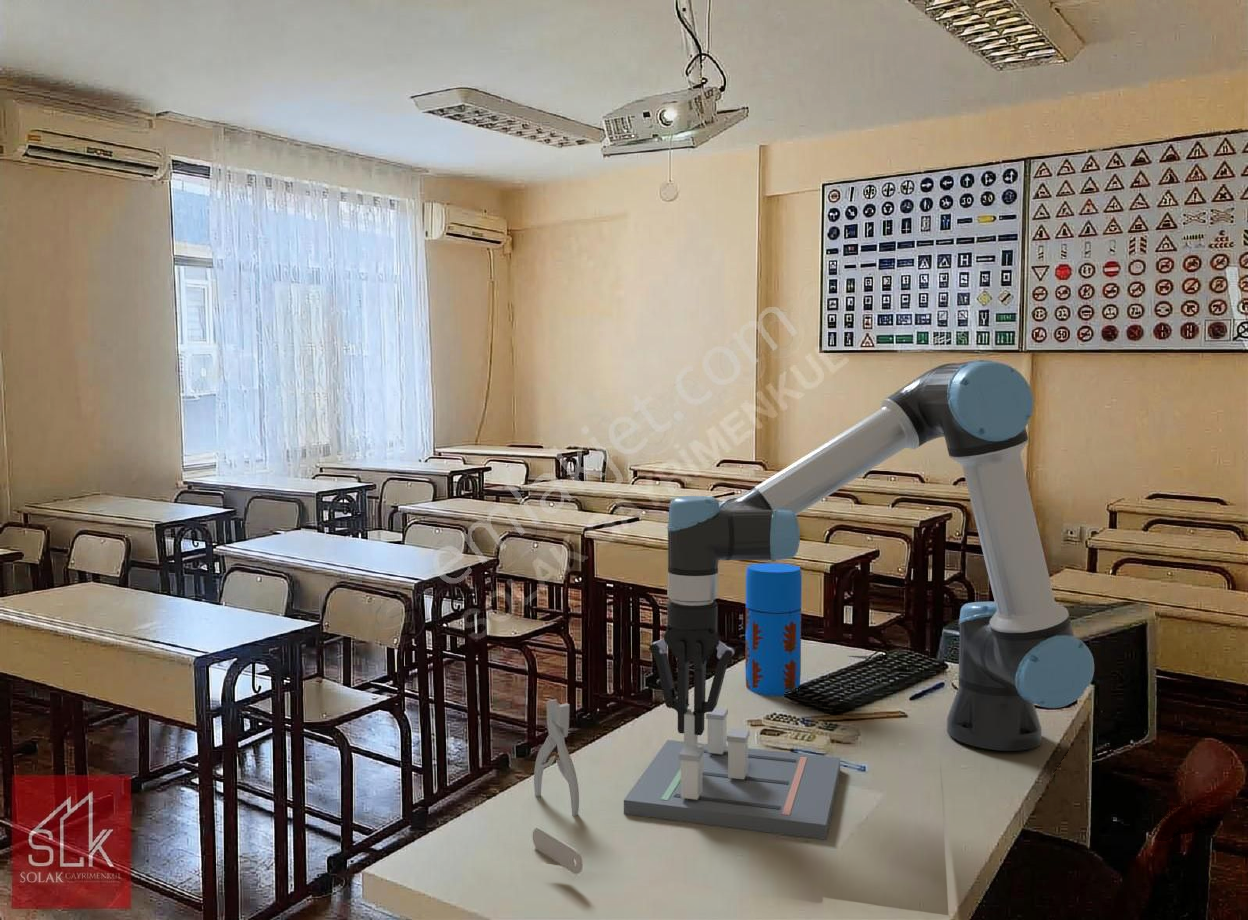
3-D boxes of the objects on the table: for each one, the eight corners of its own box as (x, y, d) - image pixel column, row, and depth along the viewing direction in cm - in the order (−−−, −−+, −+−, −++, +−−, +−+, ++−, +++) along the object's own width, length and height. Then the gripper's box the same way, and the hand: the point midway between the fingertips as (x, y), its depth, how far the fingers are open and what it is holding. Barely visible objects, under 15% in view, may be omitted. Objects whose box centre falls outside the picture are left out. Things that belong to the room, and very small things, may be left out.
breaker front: (704, 790, 138) (704, 747, 138) (698, 800, 135) (698, 756, 135) (684, 787, 139) (685, 745, 139) (679, 797, 136) (679, 753, 135)
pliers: (584, 813, 137) (583, 709, 136) (575, 816, 136) (574, 711, 135) (542, 791, 144) (542, 693, 143) (534, 794, 143) (533, 695, 142)
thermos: (798, 684, 198) (799, 563, 196) (802, 701, 187) (803, 572, 185) (744, 683, 199) (745, 562, 197) (745, 699, 188) (746, 572, 186)
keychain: (584, 876, 119) (584, 852, 119) (580, 877, 119) (580, 853, 118) (536, 845, 127) (536, 823, 127) (532, 847, 127) (532, 824, 127)
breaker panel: (840, 770, 152) (840, 756, 152) (825, 839, 128) (825, 823, 128) (667, 751, 160) (667, 739, 160) (623, 813, 137) (623, 799, 136)
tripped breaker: (749, 770, 146) (749, 729, 145) (745, 779, 142) (745, 737, 142) (730, 768, 146) (731, 727, 146) (726, 777, 143) (726, 735, 143)
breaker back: (727, 746, 156) (728, 708, 155) (723, 754, 152) (723, 715, 152) (710, 745, 156) (710, 706, 156) (706, 752, 153) (706, 713, 153)
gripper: (740, 597, 146) (737, 750, 148) (656, 592, 150) (655, 741, 152) (730, 608, 139) (728, 768, 141) (643, 601, 143) (642, 758, 144)
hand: (690, 754), depth 146 cm, fingers closed
